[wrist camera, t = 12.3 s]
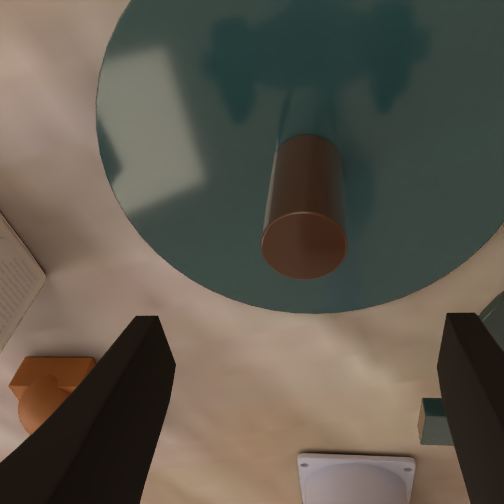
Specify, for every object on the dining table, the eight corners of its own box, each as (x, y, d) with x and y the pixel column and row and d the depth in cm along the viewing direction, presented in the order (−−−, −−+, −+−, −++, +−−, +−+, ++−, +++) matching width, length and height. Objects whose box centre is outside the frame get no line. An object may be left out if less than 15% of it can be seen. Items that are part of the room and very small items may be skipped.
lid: (488, 295, 22) (533, 410, 18) (162, 300, 25) (126, 400, 20) (601, -149, 12) (775, -157, 8) (37, -63, 15) (-91, -29, 10)
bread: (131, 429, 34) (111, 488, 31) (72, 427, 35) (47, 485, 32) (92, 354, 29) (63, 416, 26) (23, 354, 30) (-13, 414, 26)
